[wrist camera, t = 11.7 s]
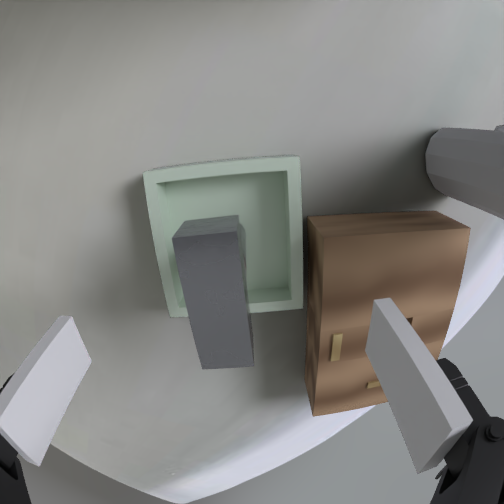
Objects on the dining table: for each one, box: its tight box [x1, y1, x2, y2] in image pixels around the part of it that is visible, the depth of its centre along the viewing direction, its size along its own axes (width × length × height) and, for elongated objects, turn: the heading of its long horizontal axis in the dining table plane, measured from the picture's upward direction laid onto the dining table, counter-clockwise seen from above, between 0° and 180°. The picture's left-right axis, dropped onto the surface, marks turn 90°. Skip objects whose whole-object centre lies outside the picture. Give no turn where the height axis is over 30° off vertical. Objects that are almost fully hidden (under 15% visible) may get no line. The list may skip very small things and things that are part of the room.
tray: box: [143, 155, 303, 317], centre depth 25 cm, size 13×12×3 cm
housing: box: [305, 211, 470, 416], centre depth 27 cm, size 20×14×6 cm
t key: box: [172, 215, 254, 369], centre depth 20 cm, size 3×8×12 cm, turn 6°
